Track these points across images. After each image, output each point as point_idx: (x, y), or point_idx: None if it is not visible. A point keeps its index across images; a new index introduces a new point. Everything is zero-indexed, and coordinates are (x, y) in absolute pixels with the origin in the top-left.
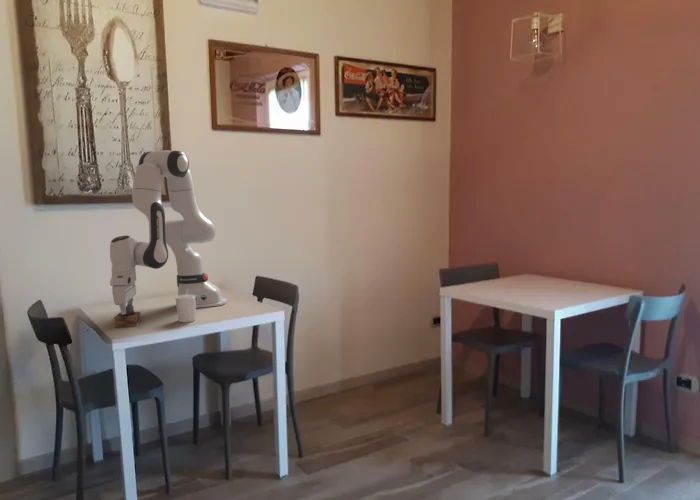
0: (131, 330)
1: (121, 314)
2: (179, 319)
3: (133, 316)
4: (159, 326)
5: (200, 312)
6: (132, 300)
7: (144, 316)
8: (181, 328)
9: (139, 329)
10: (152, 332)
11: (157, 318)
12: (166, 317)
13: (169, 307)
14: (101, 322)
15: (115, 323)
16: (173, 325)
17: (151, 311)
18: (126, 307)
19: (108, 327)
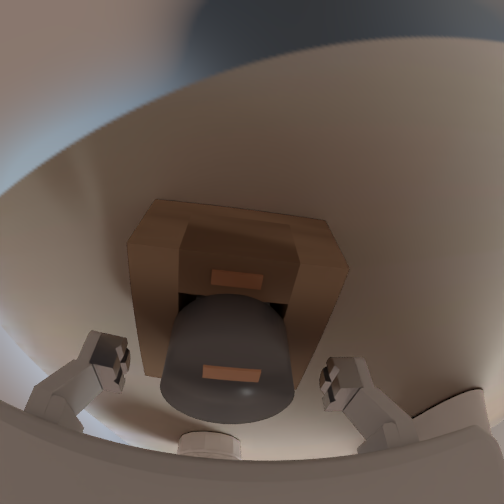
0: (69, 302)
1: (197, 306)
2: (189, 440)
3: (144, 366)
4: (134, 391)
5: (311, 453)
6: (363, 436)
7: (396, 335)
8: (102, 421)
9: (87, 333)
10: (48, 364)
11: (304, 387)
12: (301, 407)
13: (465, 379)
14: (404, 71)
15: (145, 219)
16: (143, 417)
17: (465, 341)
18: (205, 395)
19: (177, 142)
